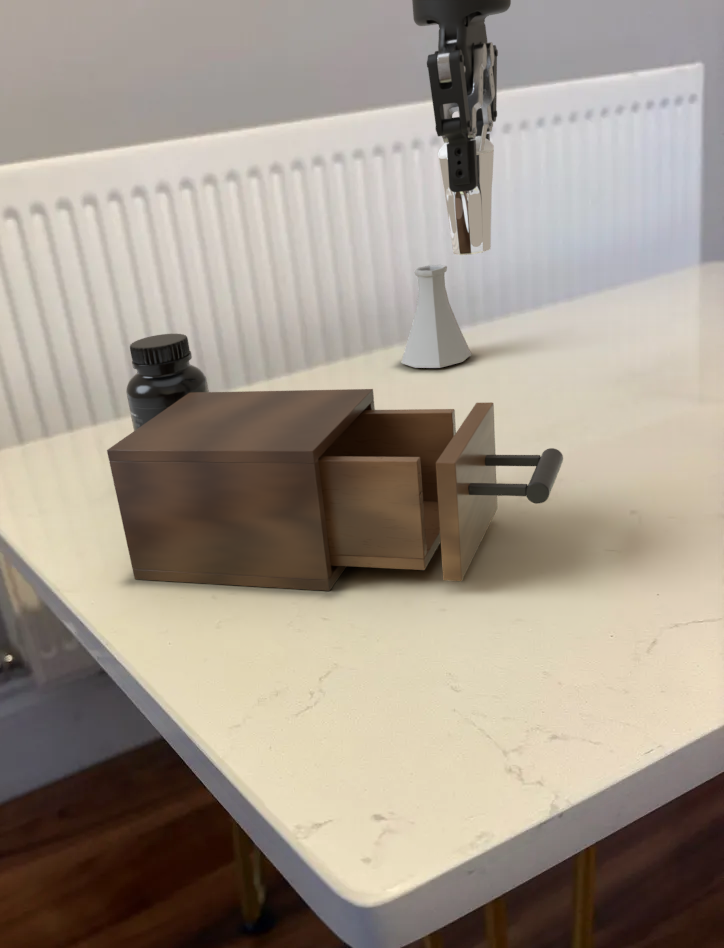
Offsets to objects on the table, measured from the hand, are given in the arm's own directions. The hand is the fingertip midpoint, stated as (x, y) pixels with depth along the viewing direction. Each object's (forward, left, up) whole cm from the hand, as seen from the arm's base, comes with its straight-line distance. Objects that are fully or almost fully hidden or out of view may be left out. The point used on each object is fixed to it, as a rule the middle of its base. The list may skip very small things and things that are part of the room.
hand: (471, 185), depth 86 cm
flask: (+9, -18, -20) cm, 28 cm away
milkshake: (0, 0, -6) cm, 6 cm away
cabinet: (+10, +30, -20) cm, 37 cm away
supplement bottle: (+23, +17, -20) cm, 35 cm away
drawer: (-2, +30, -19) cm, 36 cm away
